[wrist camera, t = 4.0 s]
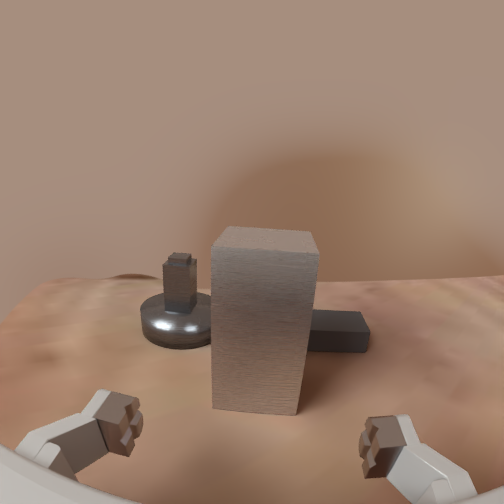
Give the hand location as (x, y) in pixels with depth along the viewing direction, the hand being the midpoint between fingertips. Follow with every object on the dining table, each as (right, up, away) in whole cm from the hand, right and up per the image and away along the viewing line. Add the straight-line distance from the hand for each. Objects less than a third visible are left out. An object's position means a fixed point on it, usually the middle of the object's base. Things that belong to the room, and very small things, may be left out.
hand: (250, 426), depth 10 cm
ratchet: (0, -1, +17) cm, 17 cm away
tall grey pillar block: (0, -3, +10) cm, 10 cm away
